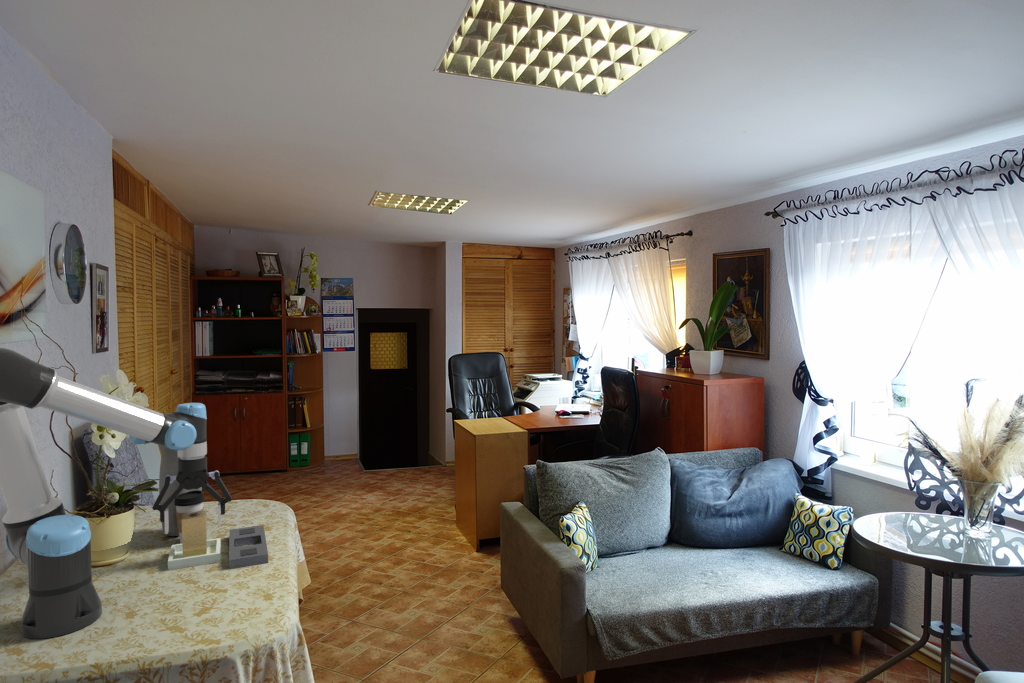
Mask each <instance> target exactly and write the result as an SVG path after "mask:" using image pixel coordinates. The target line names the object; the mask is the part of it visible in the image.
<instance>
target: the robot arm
mask: <svg viewBox="0 0 1024 683" xmlns="http://www.w3.org/2000/svg"><path fill="white" fill-rule="evenodd" d="M57 372H58V371H57V370H56V369H54V368H51V367H49V366H45V365H44V364H41V363H39V362H37V361H34V360H32V359H30V358H29V357H26V356H25V355H23V354H21V353H19V352H17V351H15V350H12V349H9V348H6V347H5V348H4V347H0V490H1V493H2V496H3V500H4V503H5V505H6V508H7V511H6V513H5V514H4V516H3V517H2V519H1V520H2V524H3V526H4V527H3V528H4V530H5V544H6V547H7V549H8V551H9V552H10V554H11V555H12V556H13V557H15V558H17V560H19V561H20V562H22V563H23V565H25V566H26V567H27V572H28V573H27V577H28V578H27V579H28V598H27V602H26V604H25V608H24V609H23V610H24V611H23V614H22V615H21V616H22V617H21V620H20V623H19V624H20V626H19V627H20V634H21V636H23V637H25V638H27V639H34V640H35V639H36V640H37V639H38V640H39V639H49V638H54V637H56V638H57V637H59V636H64V635H67V634H71V633H73V632H76V631H79V630H81V629H84V628H85V627H88V626H90V625H91V624H93V623H94V622H96V621H97V620H99V619H100V617H101V616H102V614H103V604H102V600H101V598H100V596H99V593H98V592H97V590H96V588H95V585H94V583H93V580H92V579H93V577H92V574H93V573H92V549H91V548H92V547H91V546H92V544H91V538H92V531H91V528H90V523H89V521H88V519H86V518H85V517H83V516H80V515H76V514H74V515H71V514H66V510H65V507H64V504H63V501H62V499H60V498H58V497H55V496H53V495H52V491H51V489H50V485H49V482H48V480H47V476H46V472H45V469H44V467H43V463H42V460H41V458H40V453H39V450H38V447H37V445H36V444H37V443H36V441H35V439H34V438H35V437H34V435H33V431H32V429H31V426H30V422H29V419H28V416H27V412H26V409H25V408H27V409H31V410H34V409H37V408H43V409H47V410H49V411H52V412H56V413H59V414H61V415H65V416H69V417H72V418H74V419H78V420H81V421H84V422H87V423H90V424H93V425H95V426H96V425H97V426H100V427H103V428H104V429H105V428H106V429H109V430H113V431H115V432H118V433H121V434H125V435H127V436H128V437H129V440H130V442H131V443H132V444H133V445H146V444H155V445H158V446H159V445H161V446H164V447H167V448H169V449H172V450H177V452H178V457H179V459H178V474H177V476H171V475H167V476H166V478H165V484H164V486H163V488H162V490H161V492H160V494H159V493H158V495H157V497H156V500H155V501H154V503H153V505H152V510H153V511H158V512H159V522H160V523H162V522H165V533H164V535H166V534H168V532H169V518H168V509H166V508H167V507H168V505H169V504H170V503H171V502H172V501H173V500H174V499H175V497H176V496H177V495H178V494H179V493H180V492H181V491H182V490H183V488H184V489H187V490H190V489H199V488H201V487H202V489H203V490H205V491H206V492H207V493H208V494H210V496H211V497H212V498H214V499H215V501H217V502H218V503H217V528H221V527H222V516H224V515H225V514H226V503H228V502H229V503H230V502H232V499H233V497H232V495H231V494H230V492H229V490H228V488H227V487H226V484H224V481H223V480H222V478H221V476H220V471H219V470H218V469H215V470H214V471H210V472H208V457H207V456H206V455H207V454H208V444H207V443H208V442H207V439H208V438H207V419H208V418H207V408H206V405H205V404H203V403H202V402H188V403H186V402H185V403H180V404H177V406H176V409H175V411H174V412H170V413H168V412H167V413H161V412H158V411H157V410H153V409H151V408H147V407H145V406H142V405H139V404H137V403H134V402H131V401H128V400H125V399H122V398H120V397H117V396H115V395H112V394H109V393H106V392H104V391H101V390H98V389H95V388H93V387H91V386H87V385H84V384H82V383H79V382H76V381H72V380H70V379H68V378H65V377H62V376H59V375H58V373H57ZM209 478H211V479H212V480H215V483H216V484H217V486H218V487H219V489H220V491H221V492H222V494H223V496H224V497H223V496H222V495H221V494H220V493H219V492H218V491H217V490H216V489H215V488H214V487H212V486H211V485H210V484H209V482H207V480H208V479H209ZM174 480H176V481H177V482H178V483H179V484H180V485H179V486H178V487H177V488H176V489H175V491H174V492H173V493H172V494H171V495H170V496H169V497H168V499H167V500H166V501H165V502H164V503H163V504H162V505H160V502H161V500H162V498H163V496H164V495H165V493H166V491H167V489H168V487H169V484H171V483H173V481H174Z"/></svg>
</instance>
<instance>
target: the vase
mask: <svg viewBox="0 0 1024 683" xmlns="http://www.w3.org/2000/svg"><path fill="white" fill-rule="evenodd" d="M158 446H159V450H160V453H161V456H160V466H159V476H158V477H159V478H158V479H159V480H158V484H159V485H158V492H159V493H158V495H159V494H160V492H161V490H162V488H163V486H164V484H165V478H166V476H167V475H171V476H177V474H178V459H179V457H178V452H177V450H172V449H169V448H167V447H164V446H161V445H158ZM179 485H180V484H179V483H178V482H177V481H176V480H174V481H173V483H171V484H169V487H168V489H167V491H166V493H165V495H164V496H163V498H162V500H161V502H160V504H159V505H162V504H163V503H164V502H165V501H166V500H167V499H168V497H169V496H170V495H171V494H172V493H173V492H174V491H175V489H176V488H177V487H178V486H179ZM202 489H203V487H201V488H199V489H190V490H187V489H184V488H183V490H182V491H181V492H180V493H179V494H182V493H186V492H190V491H195V490H200V491H203V490H202ZM179 494H178V495H179ZM174 501H175V499H174V500H173V501H172V502H171V503H170V504H169V505H168V507H167V508H166V509H168V518H169V532H168V534H165V522H161V527H162V531H163V533H164V534H165V535H166V536H169V537H177V536H178V537H179V530H178V523H177V516H176V506H175V505H174Z"/></svg>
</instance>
